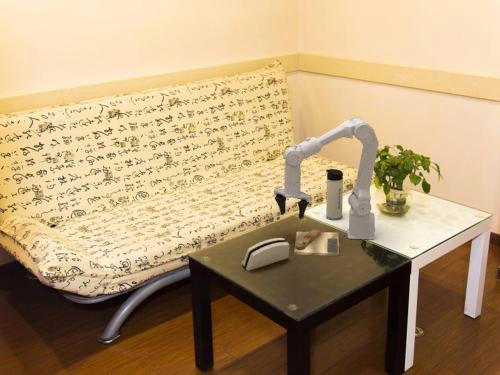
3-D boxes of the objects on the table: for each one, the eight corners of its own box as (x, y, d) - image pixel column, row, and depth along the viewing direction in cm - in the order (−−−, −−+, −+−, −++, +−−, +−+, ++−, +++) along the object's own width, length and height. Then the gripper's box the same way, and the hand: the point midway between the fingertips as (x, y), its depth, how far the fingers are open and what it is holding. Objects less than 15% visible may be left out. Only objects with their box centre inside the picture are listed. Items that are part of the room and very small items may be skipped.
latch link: (302, 250, 206) (302, 245, 205) (293, 248, 208) (293, 242, 207) (321, 234, 218) (321, 228, 217) (312, 232, 220) (312, 226, 219)
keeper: (337, 246, 208) (337, 238, 207) (337, 252, 204) (337, 244, 203) (327, 246, 209) (327, 238, 207) (327, 252, 204) (327, 244, 203)
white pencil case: (280, 252, 208) (285, 231, 202) (288, 261, 205) (293, 240, 199) (240, 265, 200) (244, 243, 194) (246, 274, 197) (251, 253, 191)
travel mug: (325, 214, 238) (326, 167, 231) (342, 214, 237) (343, 167, 230) (325, 220, 232) (325, 172, 225) (342, 220, 232) (343, 172, 224)
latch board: (338, 234, 219) (338, 232, 219) (339, 255, 204) (339, 253, 203) (296, 234, 221) (296, 231, 221) (294, 254, 206) (294, 252, 205)
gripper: (269, 180, 209) (269, 215, 214) (305, 187, 202) (304, 224, 206) (279, 175, 215) (279, 209, 219) (314, 181, 207) (313, 217, 212)
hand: (292, 216), depth 213 cm, fingers open, 7 cm apart
